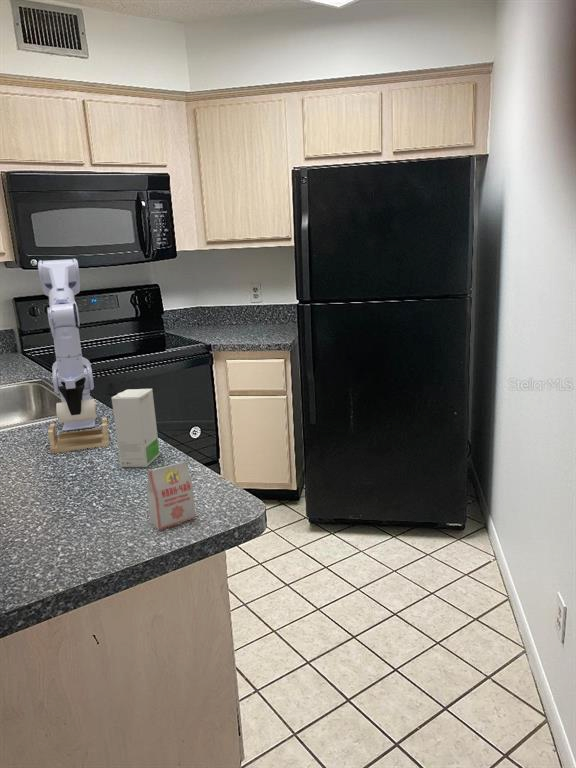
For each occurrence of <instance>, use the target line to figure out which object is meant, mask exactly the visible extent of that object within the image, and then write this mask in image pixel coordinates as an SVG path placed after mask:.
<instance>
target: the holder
mask: <svg viewBox="0 0 576 768" xmlns="http://www.w3.org/2000/svg"><path fill="white" fill-rule="evenodd" d="M107 419H108V418H107V416H105V417H101V427H100V428H92V429H91V428H90V429H85V430H76V431H68V432H67V431H66V432H61V433H60V432H59V433H58V434H57V429H56V423H55V422H54V423H50V425H49V429H48V431H47V433H48V434H47V435H48V440H49V448H50V449H49V450H50V454H56V453H63V452H71V451H72V452H73V451H81V450H87V448H88V449H95V447H96V448H102V447H109V446H110V435H109V429H108V427H109V426H108V420H107Z"/></svg>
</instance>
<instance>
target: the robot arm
mask: <svg viewBox="0 0 576 768" xmlns="http://www.w3.org/2000/svg"><path fill="white" fill-rule="evenodd" d="M37 269H38V276H39V281H40V284H41V289H42V292H43V295H45V296H47V297H48V302H49V303H48V305H49V307H47V310H46V311H47V318H48V324H49V328H50V332H51V336H52V338H53V344H54V351H55V352H54V353H55V362H53V363H52V366H51V369H52V372H51V373H52V374H51V376H52V383H53V389H54V393H55V394H57V395H59V396H60V398H61V399H60V401H61V402H66V403H67V405H68V408H69V411H70V414H71V415H79V414H81V400H88V399H91V394H90V393H91V391H92V390H93V389H94V388H95V385H94V378H93V377H94V375H93V369H92V366H91V362H90V360H89V359H87V358H86V357H83V353H82V347H81V346H82V345H81V338H80V331H79V329H80V325H81V324H80V317H79V316H80V314H79V307H78V305H77V303H76V301H75V296H76V295H77V294H79V293H80V289H81V282H80V281H81V279H80V276H81V275H80V269H79V262H78V260H77V259H76V258H72V259H71V258H70V259H69V258H68V259H54V260H53V259H52V260H50V259H49V260H41V259H39V260H38V262H37ZM76 325H77V326H76ZM95 427H96V419H89V420H81V421H73V422H64V423H63V425H62V428H61V430H62V431H63V432H65V431H66V432H67V431H74V430H82V429H91V428H92V429H93V428H95Z"/></svg>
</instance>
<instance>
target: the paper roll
mask: <svg viewBox="0 0 576 768" xmlns="http://www.w3.org/2000/svg"><path fill="white" fill-rule="evenodd" d="M95 402H96V401H95V399H94V398H90V399H88V400H81V414H79V415H71V414H70V411H69V408H68V405H67V403H66V402H62V401H61V402H56V408H55V409H56V410H55V414H56V417H57V422H58V423H59V424H64V422H73V421H81V420H89V419H95V420H96V419H97V412H98V411H97V404H96V403H95Z"/></svg>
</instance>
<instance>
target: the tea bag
mask: <svg viewBox="0 0 576 768" xmlns="http://www.w3.org/2000/svg"><path fill="white" fill-rule="evenodd" d="M147 474H148V475H147V484H146V485H147V487H146V488H147V489H146V493H147V503H148V513H149V514H148V515H149V522H150V524H151V525H153V526H154V528H155V529H157V530H158V531H161V530H164V528H165V529H167V527H168V528H170V526H171V527H174V526H176V524H177V525H179V524H178V523H180V524H182V523H181V522H183V523H186V522H188V521H187V520H190V521H192V520H191V519H193V520H195V519H194V518H196V506H195V496H194V487H193V483H192V479H191V475H190V472H189V467H188V461H180V462H177V463H173V464H170V465H166V466H161V467H159V468H158V467H157V468H154V469H150V470H148V471H147ZM196 519H197V518H196ZM185 521H186V522H185ZM173 525H174V526H173Z"/></svg>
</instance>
